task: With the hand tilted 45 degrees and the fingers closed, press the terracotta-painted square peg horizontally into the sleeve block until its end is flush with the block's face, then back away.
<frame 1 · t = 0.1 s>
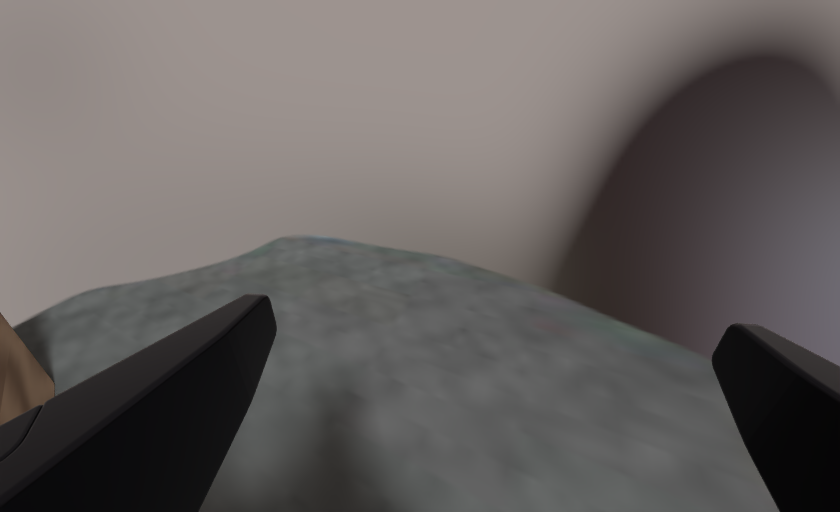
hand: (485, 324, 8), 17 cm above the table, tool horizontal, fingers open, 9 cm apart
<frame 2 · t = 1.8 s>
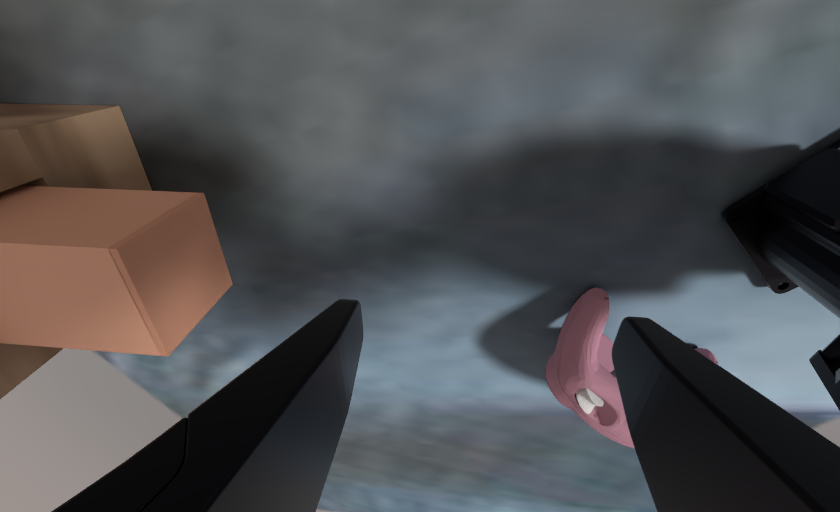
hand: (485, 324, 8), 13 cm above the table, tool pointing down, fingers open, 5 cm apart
peg: (64, 263, 15), point 8 cm above the table, slide at 0.0 cm
sleeve block: (71, 185, 22), on the table
pink rounded piece: (616, 340, 24), on the table
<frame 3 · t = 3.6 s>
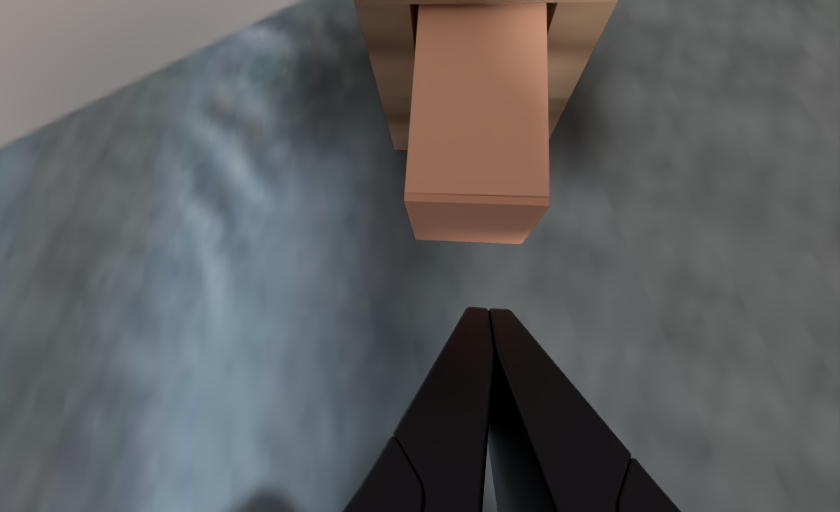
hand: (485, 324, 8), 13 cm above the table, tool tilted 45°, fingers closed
peg: (475, 103, 15), point 8 cm above the table, slide at 0.0 cm
sleeve block: (469, 80, 24), on the table
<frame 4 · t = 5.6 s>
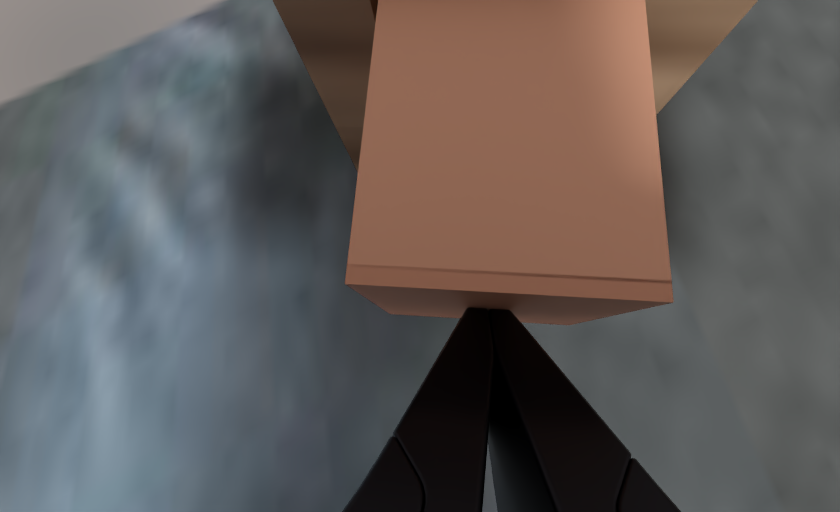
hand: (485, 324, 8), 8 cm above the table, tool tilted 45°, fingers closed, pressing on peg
peg: (492, 85, 9), point 8 cm above the table, slide at 1.6 cm, touching gripper
sleeve block: (475, 97, 17), on the table
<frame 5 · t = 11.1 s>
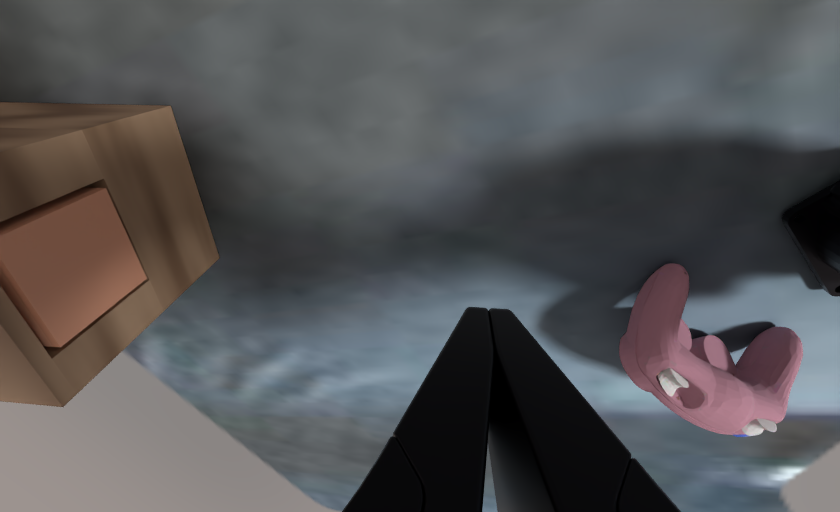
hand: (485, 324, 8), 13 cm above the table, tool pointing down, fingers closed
sleeve block: (115, 186, 22), on the table
pink rounded piece: (686, 321, 23), on the table
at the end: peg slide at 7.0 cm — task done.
